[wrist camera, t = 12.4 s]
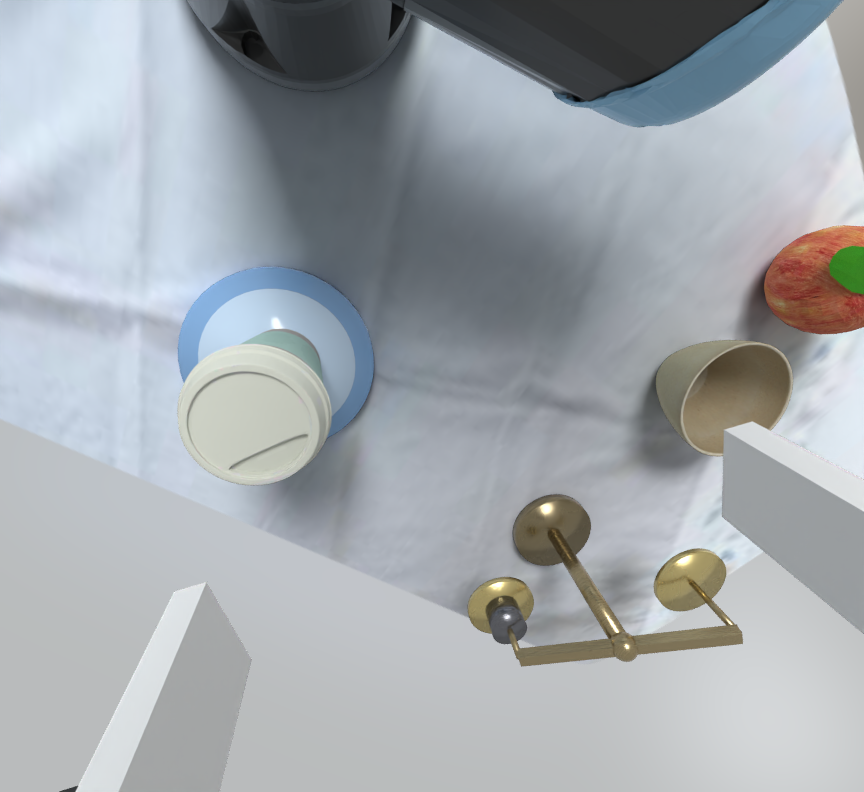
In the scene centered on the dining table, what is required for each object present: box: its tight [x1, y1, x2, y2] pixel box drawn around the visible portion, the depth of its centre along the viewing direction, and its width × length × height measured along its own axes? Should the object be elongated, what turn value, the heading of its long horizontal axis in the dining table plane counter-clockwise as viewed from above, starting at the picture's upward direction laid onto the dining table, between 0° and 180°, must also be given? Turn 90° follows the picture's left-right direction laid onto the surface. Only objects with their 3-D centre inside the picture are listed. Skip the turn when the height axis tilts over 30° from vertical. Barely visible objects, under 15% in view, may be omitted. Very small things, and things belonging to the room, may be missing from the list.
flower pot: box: [656, 340, 793, 456], centre depth 40 cm, size 10×10×7 cm
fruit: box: [764, 225, 864, 334], centre depth 37 cm, size 9×10×10 cm
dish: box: [178, 267, 374, 438], centre depth 37 cm, size 15×15×1 cm
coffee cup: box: [178, 329, 332, 485], centre depth 31 cm, size 8×8×12 cm
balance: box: [467, 494, 743, 666], centre depth 40 cm, size 8×21×17 cm, turn 108°
